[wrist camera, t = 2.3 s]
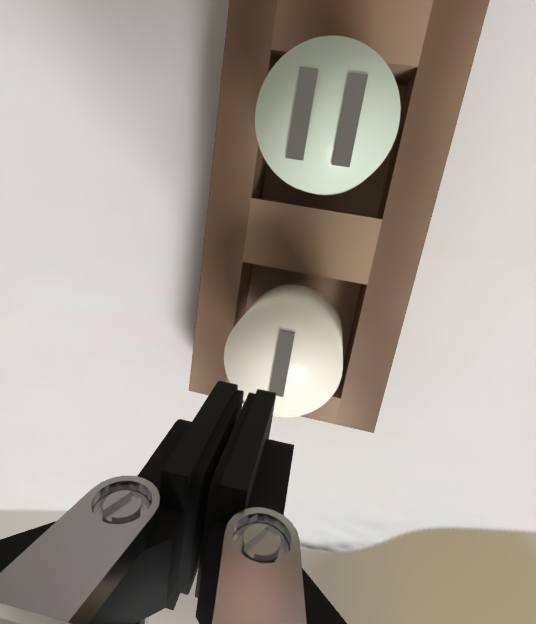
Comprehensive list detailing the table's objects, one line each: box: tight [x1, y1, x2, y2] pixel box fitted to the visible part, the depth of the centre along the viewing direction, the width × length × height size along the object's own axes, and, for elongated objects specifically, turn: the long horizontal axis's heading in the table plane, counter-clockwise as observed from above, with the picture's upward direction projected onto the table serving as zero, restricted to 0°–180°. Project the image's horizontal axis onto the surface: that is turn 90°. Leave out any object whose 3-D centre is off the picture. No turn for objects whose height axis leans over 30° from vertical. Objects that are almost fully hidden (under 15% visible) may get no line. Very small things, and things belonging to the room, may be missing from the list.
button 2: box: [255, 36, 401, 195], centre depth 15 cm, size 5×5×4 cm
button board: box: [189, 0, 489, 433], centre depth 18 cm, size 10×27×3 cm, turn 171°
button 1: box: [224, 285, 343, 417], centre depth 18 cm, size 5×5×4 cm
